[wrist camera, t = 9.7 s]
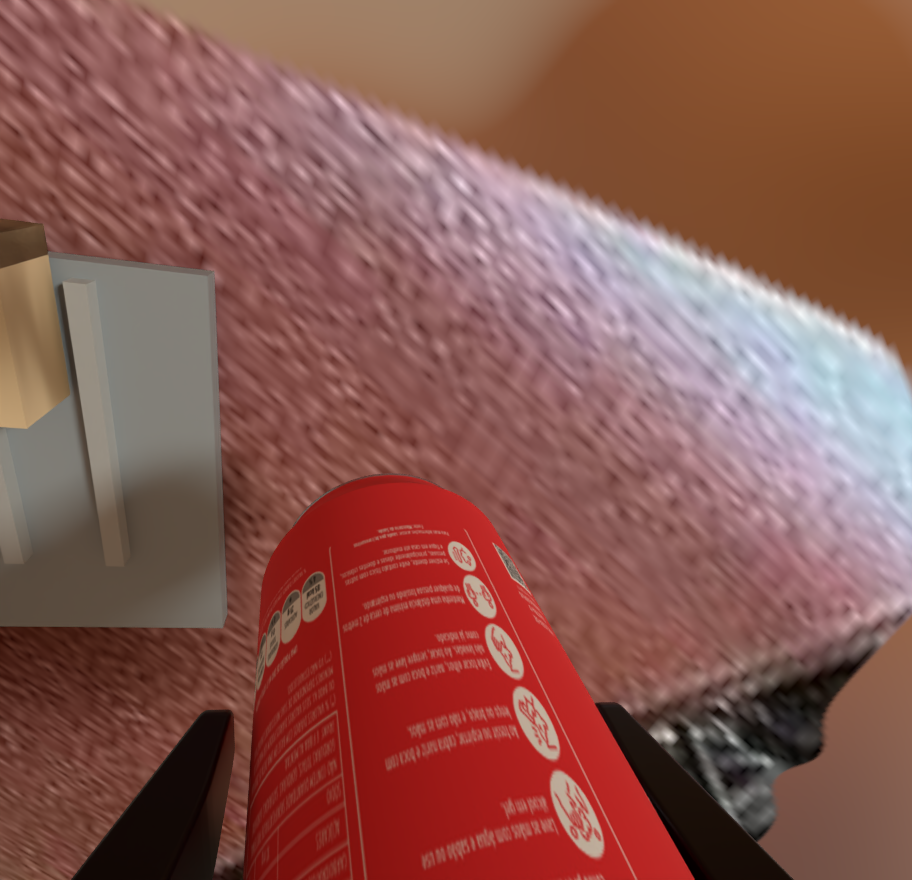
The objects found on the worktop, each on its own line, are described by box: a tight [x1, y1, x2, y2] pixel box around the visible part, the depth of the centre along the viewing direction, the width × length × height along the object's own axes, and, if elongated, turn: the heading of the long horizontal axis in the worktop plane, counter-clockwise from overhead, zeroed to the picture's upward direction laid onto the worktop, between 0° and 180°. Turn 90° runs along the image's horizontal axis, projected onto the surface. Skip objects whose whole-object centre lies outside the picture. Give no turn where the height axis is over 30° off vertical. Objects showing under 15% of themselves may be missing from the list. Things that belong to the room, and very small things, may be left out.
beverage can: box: [243, 473, 695, 880], centre depth 8 cm, size 5×5×12 cm
